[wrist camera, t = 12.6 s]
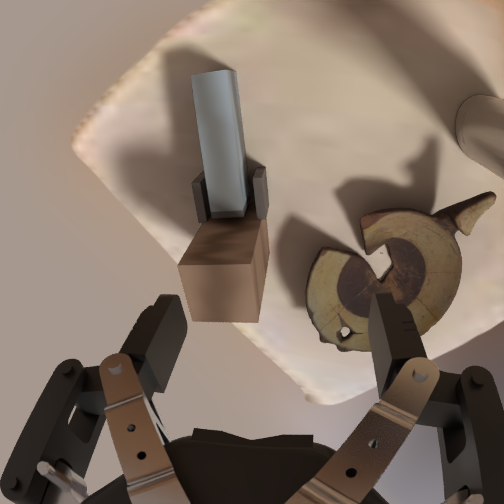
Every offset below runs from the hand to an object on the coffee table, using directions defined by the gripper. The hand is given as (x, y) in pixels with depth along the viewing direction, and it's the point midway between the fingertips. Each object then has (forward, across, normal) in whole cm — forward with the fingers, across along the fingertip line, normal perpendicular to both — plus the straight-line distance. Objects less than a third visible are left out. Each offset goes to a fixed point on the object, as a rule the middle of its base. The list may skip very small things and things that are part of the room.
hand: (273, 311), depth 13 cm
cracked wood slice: (+28, -15, +16) cm, 36 cm away
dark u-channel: (+28, +7, +8) cm, 30 cm away
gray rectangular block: (+28, +7, -3) cm, 29 cm away
